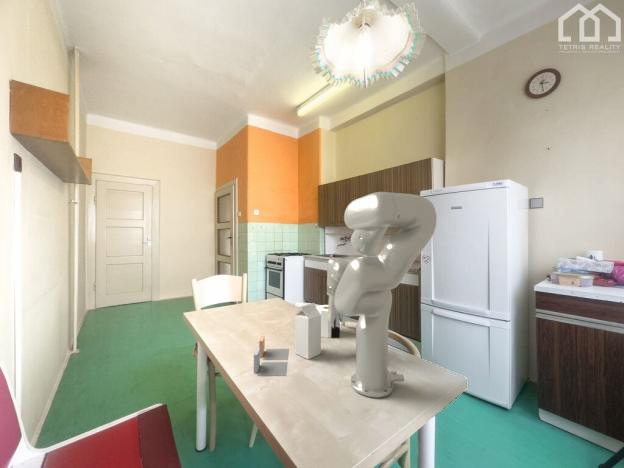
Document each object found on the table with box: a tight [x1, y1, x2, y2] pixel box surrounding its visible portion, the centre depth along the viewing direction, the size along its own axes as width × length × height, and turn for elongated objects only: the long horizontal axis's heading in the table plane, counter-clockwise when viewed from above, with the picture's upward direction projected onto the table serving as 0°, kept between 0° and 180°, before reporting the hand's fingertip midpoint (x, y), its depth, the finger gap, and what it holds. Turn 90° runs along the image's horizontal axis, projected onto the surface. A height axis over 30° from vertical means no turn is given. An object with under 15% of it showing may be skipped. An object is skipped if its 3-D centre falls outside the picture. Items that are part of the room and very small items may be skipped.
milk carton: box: [294, 302, 322, 360], centre depth 101 cm, size 7×7×19 cm
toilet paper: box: [315, 304, 332, 339], centre depth 122 cm, size 10×10×12 cm
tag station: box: [253, 335, 290, 377], centre depth 95 cm, size 11×20×6 cm, turn 2°
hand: (335, 337), depth 102 cm, fingers closed
